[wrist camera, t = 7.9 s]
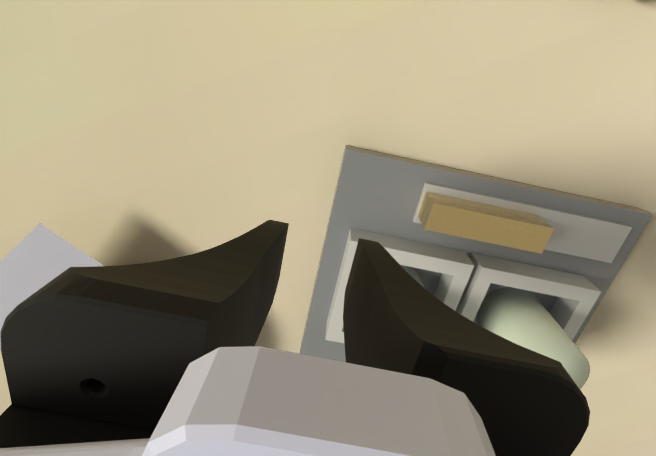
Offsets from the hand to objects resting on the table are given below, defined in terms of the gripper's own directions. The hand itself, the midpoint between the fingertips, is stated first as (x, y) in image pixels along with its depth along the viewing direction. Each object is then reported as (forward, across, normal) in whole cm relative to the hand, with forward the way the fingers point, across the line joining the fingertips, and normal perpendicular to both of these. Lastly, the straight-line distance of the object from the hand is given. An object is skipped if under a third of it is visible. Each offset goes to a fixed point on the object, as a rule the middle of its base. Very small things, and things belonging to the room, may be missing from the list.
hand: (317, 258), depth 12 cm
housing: (+9, -9, +5) cm, 14 cm away
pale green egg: (+8, -12, +6) cm, 16 cm away
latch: (+8, -8, 0) cm, 11 cm away
